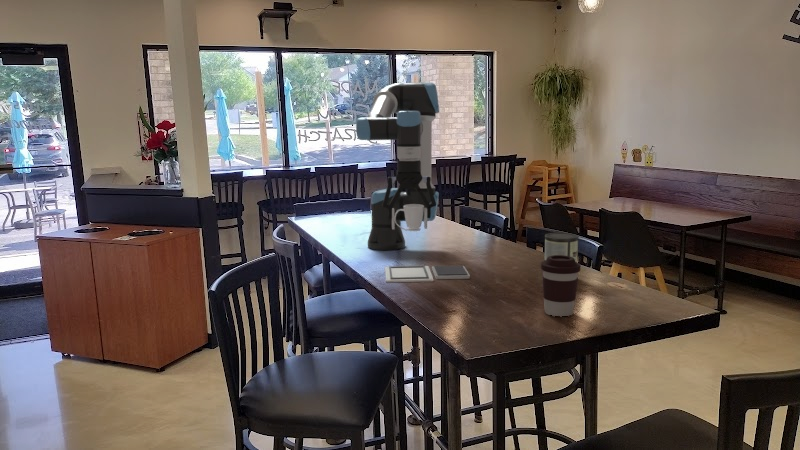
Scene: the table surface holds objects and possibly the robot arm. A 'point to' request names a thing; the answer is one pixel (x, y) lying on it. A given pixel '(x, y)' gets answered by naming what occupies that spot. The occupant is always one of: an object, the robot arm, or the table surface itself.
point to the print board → (408, 274)
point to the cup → (412, 216)
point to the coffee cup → (559, 284)
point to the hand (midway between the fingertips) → (409, 228)
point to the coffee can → (561, 244)
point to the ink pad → (450, 272)
